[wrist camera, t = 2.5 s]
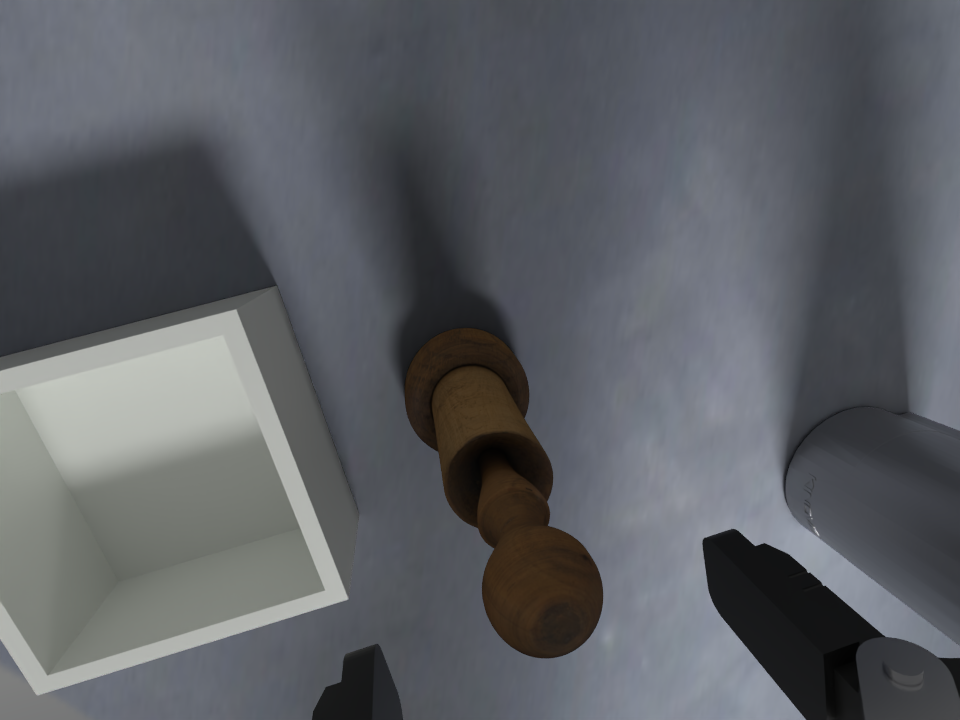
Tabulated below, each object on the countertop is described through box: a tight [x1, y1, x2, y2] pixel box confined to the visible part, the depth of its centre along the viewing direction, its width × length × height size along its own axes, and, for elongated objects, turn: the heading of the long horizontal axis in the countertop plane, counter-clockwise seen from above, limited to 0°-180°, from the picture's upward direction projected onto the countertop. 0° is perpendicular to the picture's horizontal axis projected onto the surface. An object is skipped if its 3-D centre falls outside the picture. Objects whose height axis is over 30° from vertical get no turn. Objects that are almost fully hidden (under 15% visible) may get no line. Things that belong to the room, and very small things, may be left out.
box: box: [0, 286, 359, 695], centre depth 24 cm, size 14×14×7 cm
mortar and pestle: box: [405, 328, 603, 658], centre depth 21 cm, size 7×6×18 cm
